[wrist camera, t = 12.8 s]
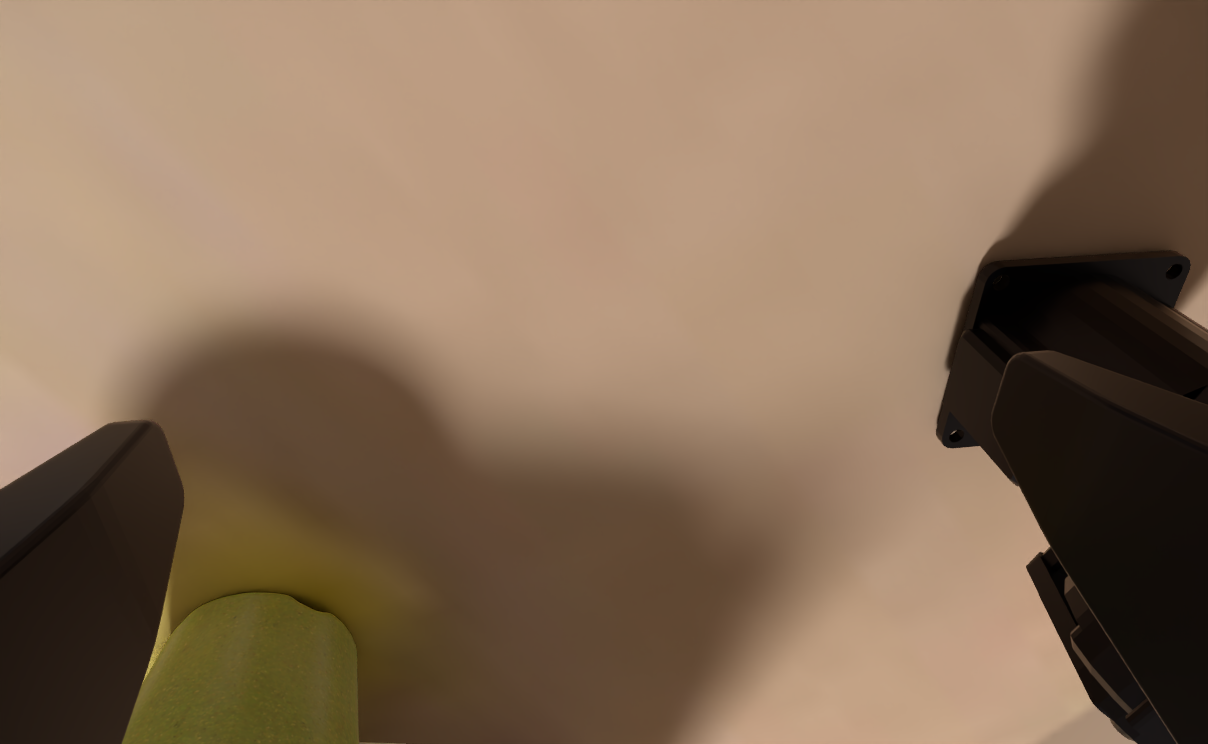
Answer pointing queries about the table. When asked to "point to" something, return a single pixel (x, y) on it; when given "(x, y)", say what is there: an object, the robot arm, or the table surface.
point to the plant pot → (251, 677)
